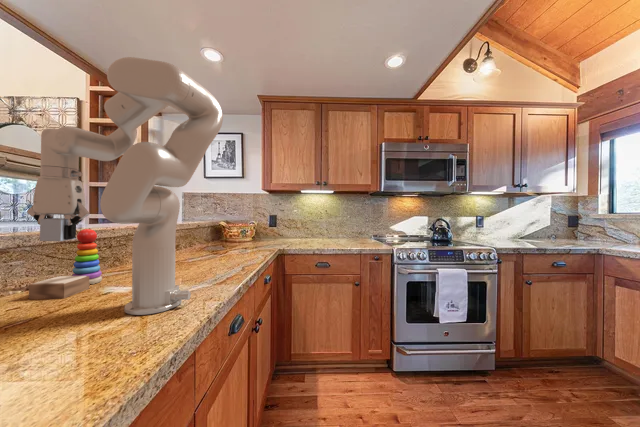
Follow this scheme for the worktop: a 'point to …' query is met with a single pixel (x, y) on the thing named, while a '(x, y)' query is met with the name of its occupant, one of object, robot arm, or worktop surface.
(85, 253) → the stacking toy
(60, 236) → the grey block
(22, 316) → the worktop surface
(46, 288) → the walnut tray
